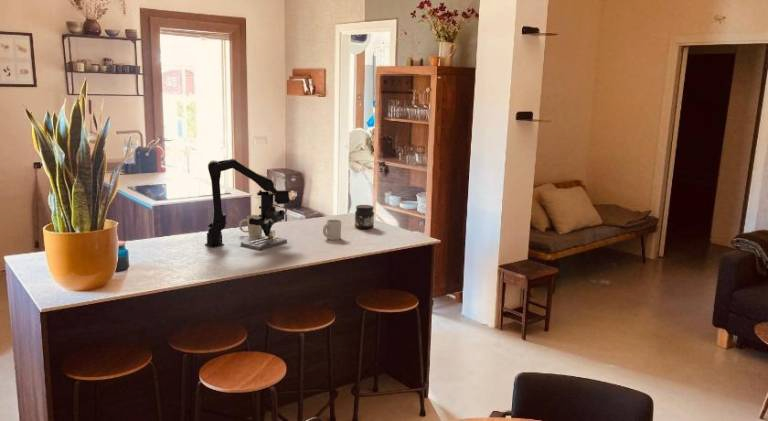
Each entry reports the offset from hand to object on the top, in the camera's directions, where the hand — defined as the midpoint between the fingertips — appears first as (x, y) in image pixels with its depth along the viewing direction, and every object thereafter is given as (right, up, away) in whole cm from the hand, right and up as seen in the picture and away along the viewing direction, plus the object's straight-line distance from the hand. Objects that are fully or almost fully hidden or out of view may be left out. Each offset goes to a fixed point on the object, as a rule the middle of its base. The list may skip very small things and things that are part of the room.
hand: (266, 236), depth 291 cm
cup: (+30, -2, +15) cm, 33 cm away
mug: (-11, -1, +13) cm, 17 cm away
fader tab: (+1, -2, +3) cm, 3 cm away
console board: (-1, -4, -1) cm, 4 cm away
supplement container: (+45, +3, +41) cm, 62 cm away
